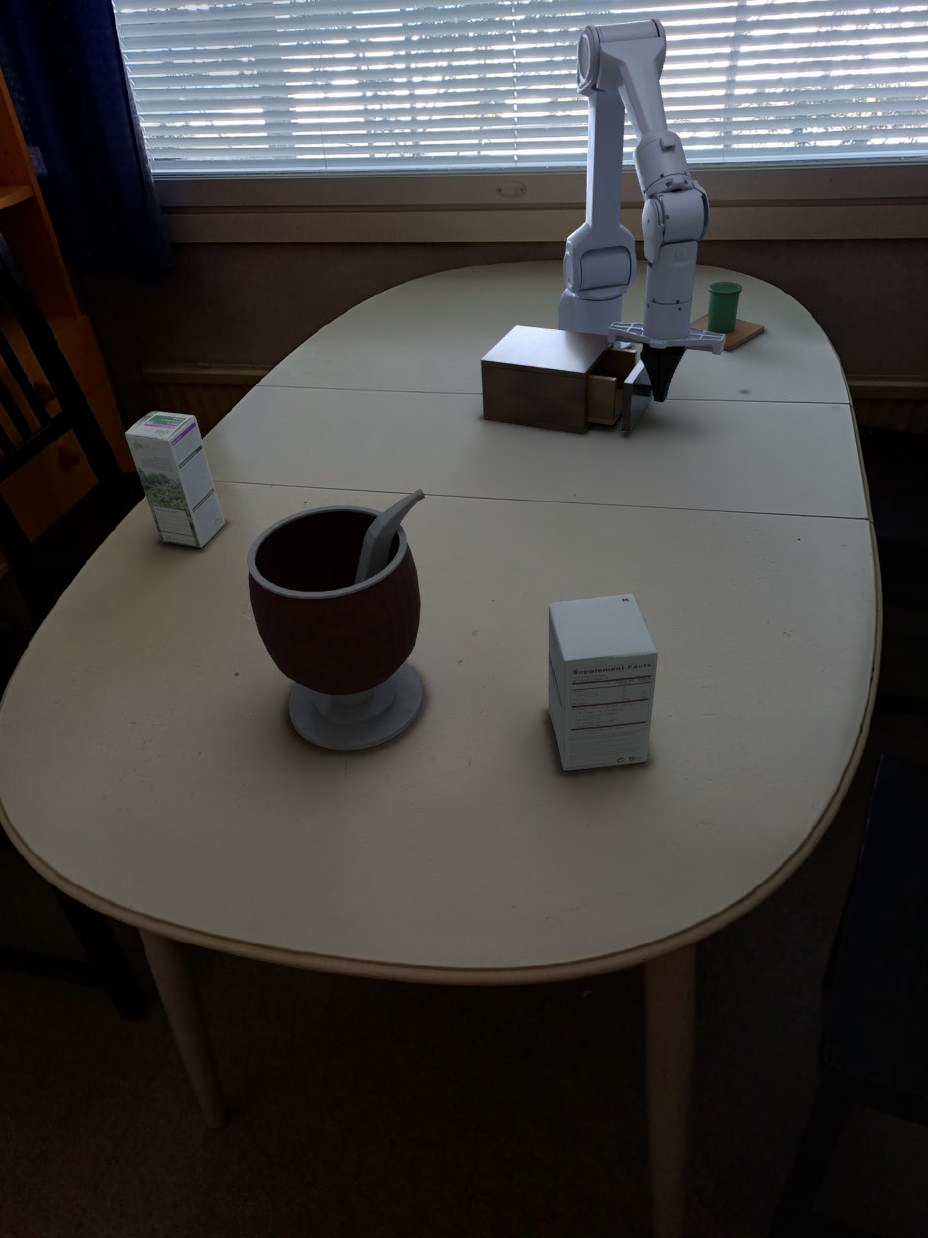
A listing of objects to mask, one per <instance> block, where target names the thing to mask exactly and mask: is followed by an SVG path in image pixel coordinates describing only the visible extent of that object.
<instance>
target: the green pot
mask: <svg viewBox="0 0 928 1238" xmlns="http://www.w3.org/2000/svg"><path fill="white" fill-rule="evenodd" d="M707 290H708V292H709V297H708V298H709V299H708V307H707V308H708V309H707V314H708V316H707V325H706V329H707V330H708V331H710V332H713V333H719V334H724V333H730V332H732V331H734V329H735V323H736V319H737V315H738V307H739V301H740V300H739V299H740V294H741V293H742V292H743V285H741V284H740V283H737V282H733V281H717V282H713V283H710V284H709V286H708V289H707Z"/></svg>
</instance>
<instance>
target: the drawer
mask: <svg viewBox="0 0 928 1238" xmlns="http://www.w3.org/2000/svg"><path fill="white" fill-rule="evenodd" d="M637 359H638V350H637V349H628V348H626V349H620V348H611V347H610V348H609V349H608V350H607V352H606V353H605V354H604V355H603V357H602V358H601V359H600V360H599V362H598V363H597V364H596V365H595V367H594V368H593V369H592V370H591V372H590V373H589V374H588V375H587V389H586V421H587V422H592V423H593V424H594V423H595V424H603V425H608V426H613V425H614V424H615V423H616V422H617V420H618V418H619V417H620V415H621V417H620V418H621V420H620V421H621V422H620V432H622V433H623V432H625V433H630V432H631V431H632V429H633V428H634V426H635V424H636V423H637V421H638V420H639V418H640V417H641V415H642V414H643V413H644V411H645V409H646V408H647V406H648V405H649V403H650V401H651V400H652V399H653V392H652V387H651V382H650V379H649V376H648V373H647V371H646V368H645V366H644V364H643V362H642V361H641V358H640V359H639V360H638V361H637Z"/></svg>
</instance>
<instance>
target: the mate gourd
mask: <svg viewBox="0 0 928 1238" xmlns="http://www.w3.org/2000/svg"><path fill="white" fill-rule="evenodd" d="M424 499H426V496H425V493H424V492H423V490H422V489H421V488H419V489H417V490H415V491H414V492H413V493H410V494H408V495H406V496H405V497H403V498H401V499H400V500H398V501H397V502H395V503H394V504H392V505H391V506H389V507H388V508H387V509H385V510H384V511H380V510H378V509H374V508H371V507H367V506H360V505H350V504H349V505H348V504H343V505H341V504H340V505H337V504H336V505H335V504H334V505H328V506H327V505H326V506H319V507H314V508H310V509H306V510H302V511H299V512H296V513H293V514H290V515H288V516H287V517H284V518H282V519H280V520H278V521H276V522H275V523H274V524H272V525H270V526H268V527H267V528H266V529H264V530H263V532H261V533H259V535H258V536H257V537H256V538H255V540H254V541H253V542H252V544H251V546H250V548H249V550H248V552H247V561H246V562H247V563H246V564H247V566H248V590H249V591H248V593H249V601H250V606H251V610H252V613H253V617H254V621H255V625H256V629H257V633H258V635H259V637H260V639H261V641H262V643H263V645H264V647H265V649H266V652H267V653H268V655H269V657H270V658H271V660H272V662H273V663H274V664H275V666H276V667H277V669H278V671H279V672H281V673H282V674H283V676H285V677H286V678H288V679H289V680H291V681H292V682H295V685H294V687H293V689H292V690H291V692H290V695H289V698H288V712H289V716H290V717H289V718H290V720H291V724H292V726H293V728H294V729H295V731H296V732H297V733H298V734H299V735H300V736H301V737H302V738H303V739H304V740H306V741H308V742H310V743H311V744H312V745H316V746H319V747H321V748H324V749H330V750H335V751H357V750H364V749H365V750H366V749H369V748H372V747H377V746H379V745H382V744H383V743H386V742H388V741H391V740H392V739H394V738H396V737H397V736H399V735H401V734H402V733H403V732H404V731H406V729H408V728H409V727H410V726H411V725H412V723H413V722H414V721H415V719H416V718H417V717H418V715H419V713H420V710H421V709H422V705H423V699H424V696H423V695H424V694H423V687H422V682H421V679H420V677H419V675H418V673H417V672H416V671H415V669H414V668H413V667H412V666H411V665H410V664H408V663H407V662H406V661H407V660H408V658H410V656H411V655H412V652H413V651H414V649H415V646H416V643H417V640H418V639H417V638H418V633H419V628H420V623H421V622H420V621H421V607H422V600H421V591H420V584H419V583H420V582H419V575H418V568H417V566H416V562H415V560H414V556H413V553H412V550H411V548H410V545H409V543H408V541H407V540H408V539H407V534H406V531H405V529H404V527H403V526H402V525H401V523H402V522H403V520H404V519H405V517H406V516H407V514H408V513H409V512H410V511H411V509H412V508H413V507H414V506H415V505H416V504H417V503H418V502H420V501H423V500H424Z"/></svg>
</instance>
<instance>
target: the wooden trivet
mask: <svg viewBox="0 0 928 1238" xmlns="http://www.w3.org/2000/svg"><path fill="white" fill-rule="evenodd" d="M707 316H708V313H707V314H705V315H702V316H701V317H699V318H697V319H696V320H694V321H692V322H690V327H694V328H698V329H701V330H705V331H708V330H707V329H706V325H707ZM764 331H765V325H762V324H759V323H754V322H750V321H746V320H743V319H738V318H736V323H735V329H734V331H732V332H730V333H724V334H725V343H724V350H723V351H729V352H731V351H733V350H734V349H736V348H738V347H740V346H741V345H743V344H744V343H746V342H748V341H749V340H751V339H753V338H754V337H756V336H757V335H759V334H760V333H762V332H764ZM709 332H710V331H709ZM718 334H719V333H718Z"/></svg>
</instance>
